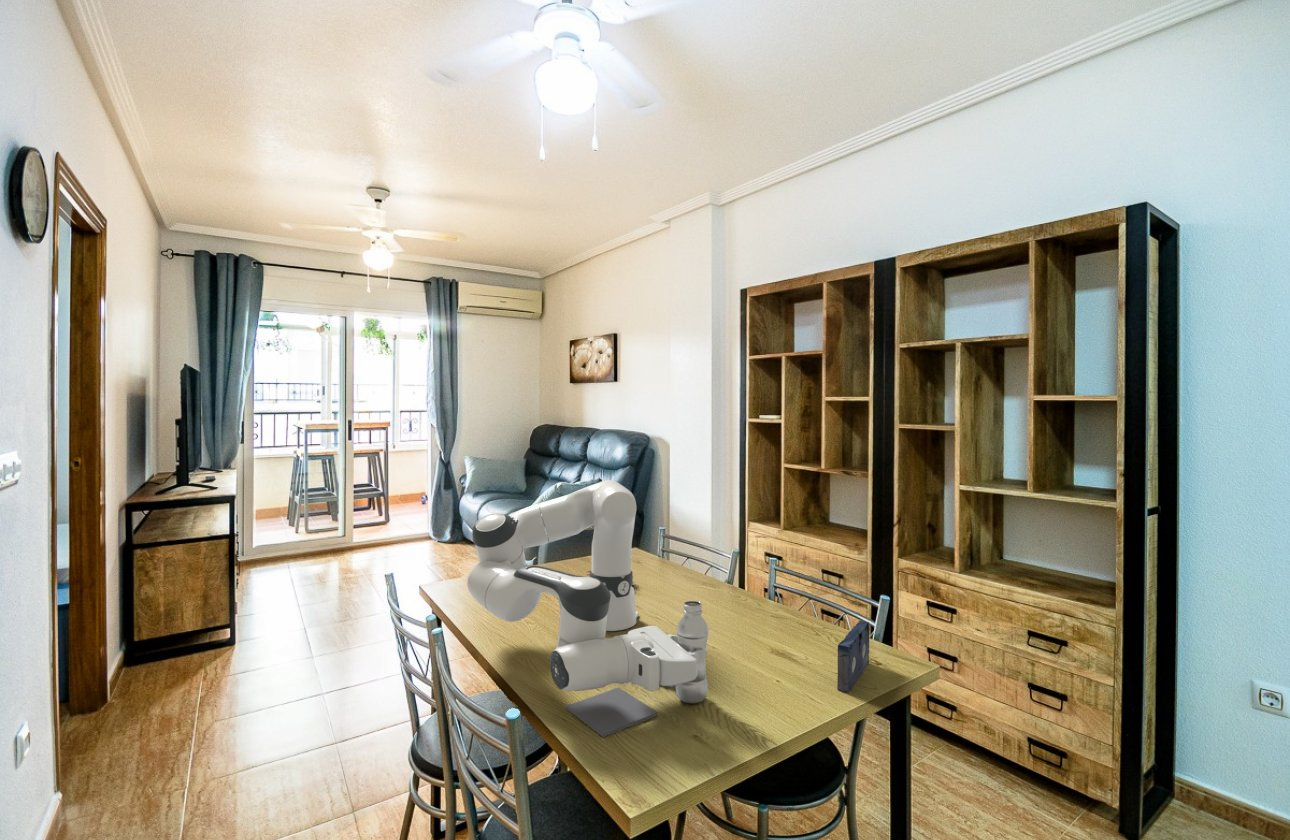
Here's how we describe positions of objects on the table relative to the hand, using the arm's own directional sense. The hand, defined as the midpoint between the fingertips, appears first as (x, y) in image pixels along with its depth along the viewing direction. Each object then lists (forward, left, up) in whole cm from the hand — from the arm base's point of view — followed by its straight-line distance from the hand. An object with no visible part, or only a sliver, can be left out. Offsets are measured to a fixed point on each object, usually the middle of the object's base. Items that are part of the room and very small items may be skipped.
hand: (696, 646), depth 124 cm
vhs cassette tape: (+14, +36, -11) cm, 40 cm away
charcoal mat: (-6, -17, -11) cm, 21 cm away
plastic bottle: (0, -1, -11) cm, 11 cm away
